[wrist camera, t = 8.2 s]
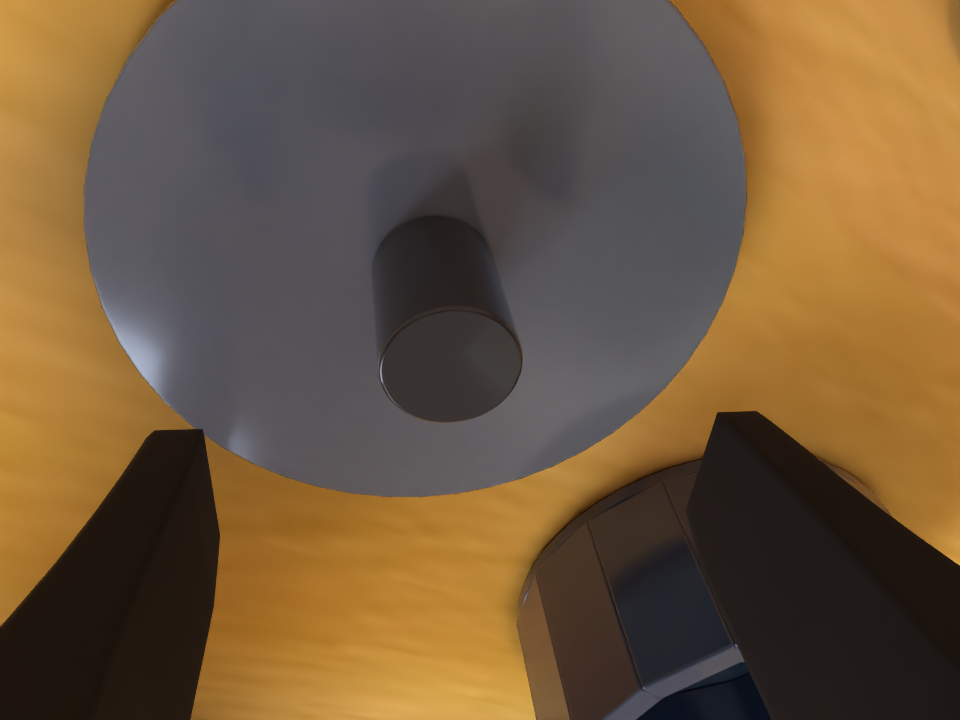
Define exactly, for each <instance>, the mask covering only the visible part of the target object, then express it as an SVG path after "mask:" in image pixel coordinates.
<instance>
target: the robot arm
mask: <svg viewBox="0 0 960 720" xmlns="http://www.w3.org/2000/svg"><path fill="white" fill-rule="evenodd" d="M686 515H687V518H688V522H689V525H690V529H691V532H692V535H693V539H694V542H695V546H696V549H697V552H698V555H699V558H700V561H701V564H702V567H703V570H704V573H705V576H706V578H707V580H708V583H709V585H710V587H711V590H712V592H713V594H714V596H715V598H716V601H717V603H718V605H719V607H720V609H721V612H722V614H723V616H724V618H725V620H726V623H727V625H728V627H729V629H730V631H731V633H732V636H733V638H734V640H735V642H736V644H737V646H738V648H739V651H740V653H741V655H742V657H743V659H744V661H745V664H746V666H747V668H748V670H749V672H750V674H751V676H752V679H753V681H754V683H755V685H756V687H757V689H758V692H759V694H760V696H761V698H762V700H763V702H764V704H765V707H766V709H767V711H768V713H769V716H770V718H771V720H960V566H959V565H958V564H956V563H955V562H954V561H952V560H951V559H949V558H948V557H947V556H945V555H944V554H942V553H941V552H940V551H938V550H937V549H935V548H934V547H932V546H931V545H930V544H928V543H927V542H925V541H924V540H923V539H921V538H920V537H918V536H917V535H916V534H914V533H913V532H911V531H910V530H909V529H907V528H906V527H905V526H903V525H902V524H901V523H899V522H898V521H897V520H895V519H894V518H893V517H891V516H890V515H889V514H887V513H886V512H885V511H883V510H882V509H881V508H880V507H878V506H877V505H876V504H874V503H873V502H872V501H870V500H869V499H868V498H867V497H865V496H864V495H863V494H862V493H860V492H859V491H858V490H856V489H855V488H854V487H853V486H851V485H850V484H849V483H848V482H846V481H845V480H844V479H843V478H841V477H840V476H839V475H838V474H836V473H835V472H834V471H833V470H831V469H830V468H829V467H828V466H826V465H825V464H824V463H823V462H821V461H820V460H819V459H818V458H816V457H815V456H814V455H813V454H811V453H810V452H809V451H808V450H806V449H805V448H804V447H803V446H802V445H800V444H799V443H798V442H797V441H795V440H794V439H793V438H791V437H790V436H789V435H788V434H786V433H785V432H784V431H783V430H781V429H780V428H779V427H778V426H776V425H775V424H774V423H772V422H771V421H770V420H768V419H767V418H766V417H764V416H763V415H761V414H760V413H759V412H757V411H745V412H718V413H717V416H716V419H715V422H714V425H713V428H712V431H711V434H710V437H709V440H708V443H707V446H706V449H705V452H704V456H703V459H702V462H701V465H700V468H699V471H698V474H697V477H696V480H695V483H694V486H693V489H692V492H691V495H690V498H689V502H688V505H687V508H686ZM219 542H220V532H219V526H218V520H217V513H216V507H215V501H214V495H213V488H212V482H211V476H210V469H209V463H208V457H207V451H206V444H205V438H204V432H203V429H187V430H156V431H154V432H152V433H151V434H150V435H149V436H148V437H147V438H146V439H145V441H144V443H143V444H142V446H141V447H140V449H139V450H138V452H137V453H136V455H135V456H134V458H133V459H132V461H131V462H130V464H129V465H128V466H127V468H126V469H125V471H124V472H123V474H122V475H121V477H120V478H119V479H118V481H117V482H116V484H115V485H114V487H113V488H112V489H111V491H110V492H109V493H108V495H107V496H106V498H105V499H104V500H103V502H102V503H101V505H100V506H99V507H98V509H97V510H96V511H95V513H94V514H93V515H92V517H91V518H90V519H89V520H88V522H87V523H86V524H85V526H84V527H83V528H82V530H81V531H80V532H79V533H78V535H77V536H76V537H75V539H74V540H73V541H72V542H71V544H70V545H69V546H68V548H67V549H66V550H65V551H64V553H63V554H62V555H61V557H60V558H59V559H58V560H57V562H56V563H55V564H54V565H53V566H52V568H51V569H50V570H49V571H48V572H47V573H46V575H45V576H44V577H43V578H42V579H41V580H40V582H39V583H38V584H37V585H36V586H35V587H34V589H33V590H32V591H31V592H30V593H29V594H28V596H27V597H26V598H25V599H24V600H23V601H22V603H21V604H20V605H19V606H18V607H17V608H16V610H15V611H14V612H13V613H12V614H11V615H10V617H9V618H8V619H7V620H6V621H5V622H4V623H3V624H2V625H1V627H0V720H190V718H191V713H192V709H193V704H194V699H195V694H196V690H197V685H198V680H199V675H200V671H201V666H202V661H203V656H204V652H205V647H206V642H207V637H208V632H209V627H210V622H211V617H212V612H213V607H214V598H215V588H216V578H217V566H218V554H219Z"/></svg>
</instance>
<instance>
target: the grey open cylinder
mask: <svg viewBox="0 0 960 720" xmlns="http://www.w3.org/2000/svg"><path fill="white" fill-rule="evenodd" d="M820 461H821V460H820ZM701 462H702V459H700V460H696V461H692V462H689V463H685V464H682V465H678V466H675V467H671V468H668V469H666V470H663V471H660V472H658V473H655V474H652V475H650V476H647V477H644V478H642V479H640V480H638V481H636V482H634V483H632V484H630V485H628V486H626V487H624V488H622V489H619V490H618V491H616V492H614V493H613V494H611V495H609V496H608V497H606V498H604V499H603V500H601V501H599V502H598V503H596V504H595V505H593V506H592V507H590V508H589V509H588V510H586V511H585V512H584V513H582V514H581V515H580V516H578V517H577V518H575V519H574V520H573V521H572V522H571V523H570V524H569V525H568V526H567V527H565V528H564V529H563V530H562V531H561V532H560V533H559V534H558V535H557V536H556V537H555V538H554V539H553V540H552V542H551V543H550V544H549V545H548V546H547V547H546V548H545V550H544V551H543V552H542V553H541V555H540V556H539V558H538V559H537V561H536V562H535V564H534V565H533V567H532V568H531V570H530V572H529V574H528V577H527V579H526V581H525V583H524V585H523V589H522V592H521V596H520V599H519V604H518V620H517V628H518V633H519V638H520V642H521V647H522V652H523V657H524V662H525V667H526V672H527V677H528V681H529V686H530V691H531V696H532V701H533V706H534V711H535V715H536V720H771V718H770V716H769V713H768V711H767V709H766V707H765V704H764V702H763V700H762V698H761V696H760V694H759V692H758V689H757V687H756V685H755V683H754V681H753V679H752V676H751V674H750V672H749V670H748V668H747V666H746V664H745V661H744V659H743V657H742V655H741V653H740V651H739V648H738V646H737V644H736V642H735V640H734V638H733V636H732V633H731V631H730V629H729V627H728V625H727V623H726V620H725V618H724V616H723V614H722V612H721V609H720V607H719V605H718V603H717V601H716V598H715V596H714V594H713V592H712V590H711V587H710V585H709V583H708V580H707V578H706V576H705V573H704V570H703V567H702V564H701V561H700V558H699V555H698V552H697V549H696V546H695V542H694V539H693V535H692V532H691V529H690V525H689V522H688V518H687V515H686V508H687V505H688V502H689V498H690V495H691V492H692V489H693V486H694V483H695V480H696V477H697V474H698V471H699V468H700V465H701ZM821 462H823V463H824V464H825V465H826V466H828V467H829V468H830V469H831V470H833V471H834V472H835V473H836V474H838V475H839V476H840V477H841V478H843V479H844V480H845V481H846V482H848V483H849V484H850V485H851V486H853V487H854V488H855V489H856V490H858V491H859V492H860V493H862V494H863V495H864V496H865V497H867V498H868V499H869V500H870V501H872V502H873V503H874V504H876V505H877V506H878V507H880V508H881V509H882V510H883V511H885V512H886V513H887V514H889V515H890V513H889V512H888V510H887V509H886V508H885V506H884V505H883V504H882V502H881V501H880V499H879V498H878V497H877V495H876V494H875V493H874V492H872V491H870V490H869V489H867V488H866V487H865V486H864V485H863V484H862V483H861V482H860V481H859V480H858V479H857V478H855V477H853V476H852V475H850V474H849V473H847V472H846V471H844V470H843V469H841V468H838V467H836V466H834V465H831V464H829V463H827V462H824V461H821ZM890 516H891V515H890ZM891 517H892V516H891Z"/></svg>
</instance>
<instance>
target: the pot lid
mask: <svg viewBox="0 0 960 720" xmlns="http://www.w3.org/2000/svg"><path fill="white" fill-rule="evenodd" d="M746 202H747V187H746V165H745V154H744V149H743V144H742V139H741V134H740V128H739V123H738V118H737V116H736V113H735V110H734V107H733V105H732V102H731V99H730V96H729V93H728V91H727V88H726V85H725V82H724V80H723V78H722V76H721V74H720V72H719V70H718V69H717V67H716V65H715V63H714V61H713V59H712V58H711V56H710V54H709V52H708V50H707V48H706V46H705V45H704V43H703V41H702V40H701V39H700V38H699V36H698V35H697V34H696V32H695V31H694V30H693V28H692V27H691V26H690V24H689V23H688V22H687V21H686V19H685V18H684V17H683V15H682V14H681V13H680V11H679V10H678V9H677V7H676V6H674V5H673V4H672V3H671V2H670V1H669V0H173V1H172V2H171V3H170V4H169V5H168V6H167V7H166V8H165V9H164V10H163V11H162V12H161V14H160V15H159V16H158V18H157V19H156V20H155V21H154V23H153V24H152V25H151V27H150V28H149V29H148V31H147V32H146V33H145V35H144V36H143V37H142V39H141V40H140V41H139V43H138V44H137V45H136V47H135V48H134V49H133V51H132V52H131V53H130V55H129V56H128V58H127V60H126V62H125V64H124V66H123V67H122V69H121V71H120V73H119V75H118V77H117V79H116V81H115V82H114V84H113V86H112V88H111V90H110V92H109V94H108V96H107V98H106V100H105V103H104V106H103V109H102V112H101V114H100V117H99V120H98V123H97V126H96V129H95V132H94V135H93V138H92V141H91V146H90V152H89V158H88V164H87V170H86V176H85V182H84V234H85V240H86V247H87V253H88V260H89V266H90V271H91V274H92V277H93V280H94V283H95V287H96V290H97V293H98V296H99V299H100V302H101V306H102V308H103V310H104V312H105V314H106V317H107V319H108V321H109V323H110V325H111V327H112V329H113V331H114V333H115V335H116V337H117V339H118V341H119V343H120V345H121V346H122V348H123V349H124V351H125V352H126V354H127V355H128V357H129V358H130V360H131V361H132V363H133V364H134V366H135V367H136V369H137V370H138V372H139V373H140V375H141V376H142V377H143V378H144V379H145V380H146V381H147V383H148V384H149V385H150V386H151V387H152V388H153V389H154V391H155V392H156V393H157V394H158V395H159V396H160V397H161V399H162V400H163V401H164V402H165V403H166V404H167V405H169V406H170V407H171V408H172V409H173V410H174V411H175V412H176V413H178V414H179V415H180V416H181V417H182V418H183V419H184V420H185V421H187V422H188V423H189V424H190V425H191V426H192V427H194V428H195V429H203V432H204V435H205V436H207V437H208V438H209V439H211V440H212V441H214V442H215V443H217V444H218V445H219V446H221V447H223V448H224V449H226V450H228V451H230V452H232V453H234V454H236V455H237V456H239V457H241V458H243V459H245V460H247V461H248V462H250V463H252V464H254V465H257V466H259V467H262V468H264V469H267V470H269V471H271V472H274V473H276V474H279V475H281V476H284V477H286V478H290V479H293V480H296V481H300V482H303V483H306V484H310V485H313V486H317V487H321V488H326V489H331V490H336V491H341V492H347V493H352V494H362V495H372V496H383V497H426V496H437V495H448V494H457V493H462V492H468V491H473V490H479V489H484V488H489V487H493V486H496V485H500V484H503V483H507V482H510V481H514V480H518V479H521V478H524V477H526V476H529V475H532V474H534V473H537V472H539V471H542V470H545V469H547V468H550V467H552V466H555V465H557V464H559V463H561V462H563V461H565V460H567V459H569V458H571V457H573V456H575V455H577V454H579V453H581V452H583V451H584V450H586V449H588V448H589V447H591V446H593V445H594V444H596V443H597V442H599V441H601V440H602V439H604V438H605V437H607V436H609V435H610V434H612V433H613V432H615V431H616V430H617V429H618V428H620V427H621V426H622V425H624V424H625V423H626V422H628V421H629V420H630V419H632V418H633V417H634V416H635V415H637V414H638V413H639V412H640V411H641V410H642V409H644V408H645V407H646V406H647V405H648V404H649V403H650V402H651V401H652V400H653V399H654V398H655V397H656V396H657V395H658V394H660V393H661V392H662V391H663V390H664V389H665V388H666V386H667V385H668V384H669V383H670V382H671V381H672V379H673V378H674V377H675V376H676V375H677V374H678V372H679V371H680V370H681V369H682V368H683V367H684V365H685V364H686V363H687V362H688V360H689V359H690V357H691V356H692V354H693V353H694V351H695V350H696V348H697V347H698V345H699V344H700V343H701V341H702V340H703V338H704V337H705V335H706V334H707V332H708V330H709V328H710V326H711V324H712V322H713V320H714V318H715V316H716V314H717V313H718V311H719V309H720V307H721V305H722V303H723V300H724V298H725V295H726V292H727V290H728V287H729V284H730V282H731V279H732V276H733V274H734V271H735V268H736V263H737V259H738V255H739V251H740V246H741V242H742V238H743V233H744V222H745V212H746Z"/></svg>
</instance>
